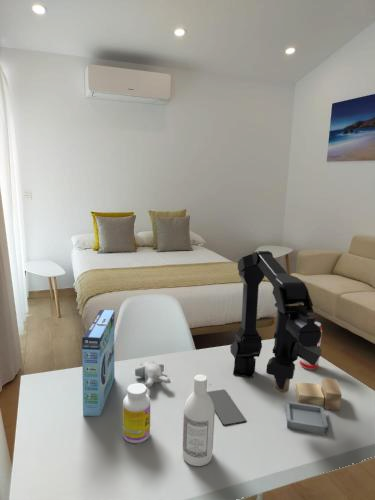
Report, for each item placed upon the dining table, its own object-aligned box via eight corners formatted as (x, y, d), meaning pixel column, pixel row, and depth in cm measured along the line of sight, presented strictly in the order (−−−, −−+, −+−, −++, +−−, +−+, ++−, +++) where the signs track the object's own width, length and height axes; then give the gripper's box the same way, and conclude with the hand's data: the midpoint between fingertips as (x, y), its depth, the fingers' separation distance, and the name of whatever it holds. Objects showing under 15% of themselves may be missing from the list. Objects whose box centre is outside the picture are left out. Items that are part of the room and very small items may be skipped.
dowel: (273, 390, 94) (275, 369, 93) (275, 383, 97) (277, 362, 96) (287, 393, 93) (289, 372, 92) (289, 386, 96) (291, 365, 95)
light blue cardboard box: (99, 377, 116) (98, 309, 111) (115, 377, 116) (115, 309, 111) (82, 416, 97) (80, 336, 92) (101, 417, 97) (100, 337, 92)
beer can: (319, 371, 124) (324, 327, 120) (300, 369, 125) (304, 325, 122) (316, 363, 130) (321, 320, 126) (298, 360, 131) (302, 318, 128)
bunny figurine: (159, 355, 123) (173, 372, 109) (159, 370, 123) (174, 389, 110) (131, 359, 120) (143, 378, 106) (132, 374, 120) (143, 395, 106)
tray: (287, 427, 95) (287, 421, 95) (285, 407, 104) (286, 401, 103) (327, 434, 93) (328, 427, 93) (322, 413, 102) (323, 406, 101)
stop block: (324, 408, 104) (326, 392, 103) (320, 392, 111) (322, 377, 110) (339, 410, 103) (341, 394, 102) (334, 394, 111) (336, 379, 110)
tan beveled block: (298, 404, 106) (299, 394, 105) (294, 390, 113) (295, 381, 112) (323, 407, 105) (324, 397, 104) (318, 393, 112) (319, 384, 111)
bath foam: (195, 440, 89) (198, 366, 85) (218, 455, 85) (222, 377, 81) (176, 456, 84) (178, 377, 80) (199, 472, 80) (203, 390, 76)
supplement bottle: (148, 445, 87) (148, 397, 85) (120, 444, 87) (120, 395, 85) (151, 426, 94) (152, 381, 91) (125, 425, 94) (125, 380, 91)
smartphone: (223, 425, 95) (203, 392, 109) (223, 428, 95) (203, 394, 109) (247, 420, 97) (225, 388, 111) (247, 423, 97) (224, 391, 111)
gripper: (318, 351, 80) (311, 413, 84) (322, 322, 97) (316, 375, 100) (268, 341, 85) (263, 401, 88) (280, 314, 102) (275, 366, 105)
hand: (282, 384), depth 95 cm, fingers closed on dowel, 4 cm apart
